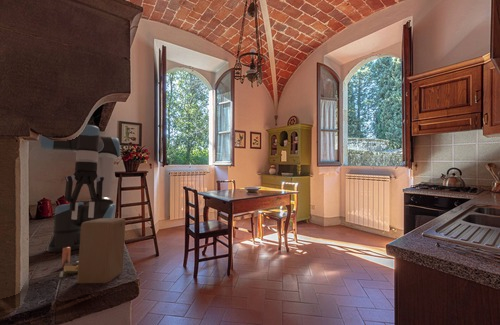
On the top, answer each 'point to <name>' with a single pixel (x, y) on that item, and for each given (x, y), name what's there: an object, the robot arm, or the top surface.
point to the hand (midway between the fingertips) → (82, 218)
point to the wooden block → (101, 250)
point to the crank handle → (68, 262)
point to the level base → (66, 274)
